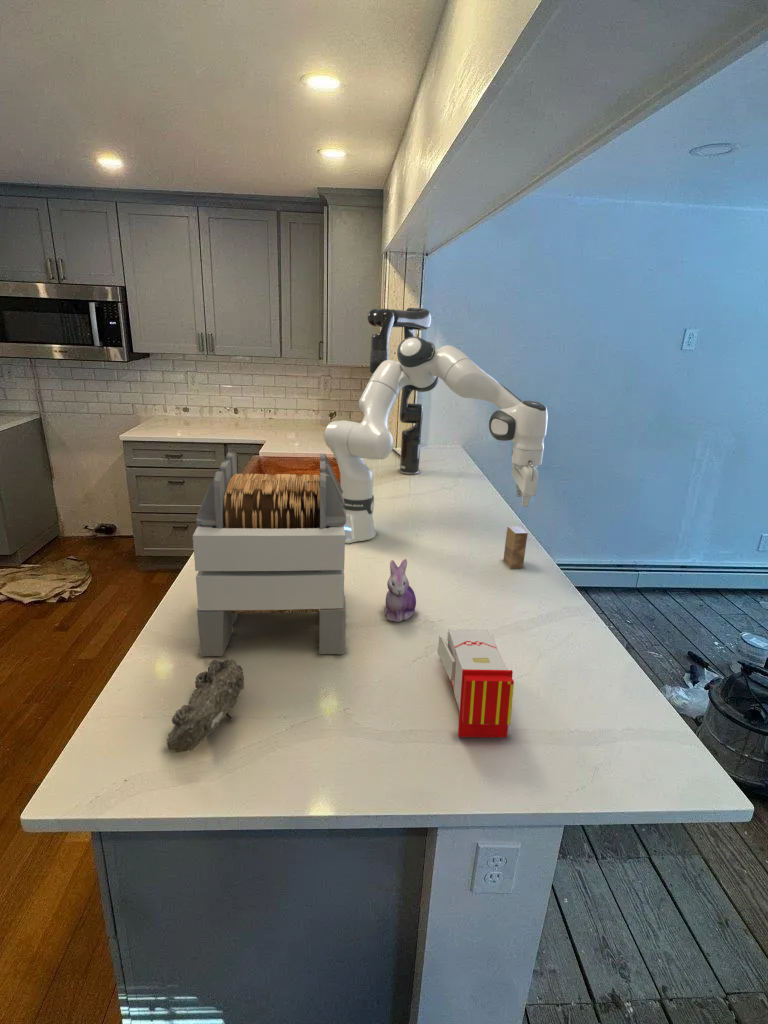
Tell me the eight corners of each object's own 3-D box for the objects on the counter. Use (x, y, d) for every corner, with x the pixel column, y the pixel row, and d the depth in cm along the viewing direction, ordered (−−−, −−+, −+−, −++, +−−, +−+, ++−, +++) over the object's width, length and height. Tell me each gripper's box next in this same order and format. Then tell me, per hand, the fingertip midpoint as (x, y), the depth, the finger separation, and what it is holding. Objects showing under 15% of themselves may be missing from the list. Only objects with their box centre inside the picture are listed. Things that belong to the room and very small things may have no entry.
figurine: (392, 627, 141) (395, 572, 136) (374, 608, 149) (376, 556, 144) (425, 619, 145) (429, 566, 140) (405, 601, 154) (408, 550, 149)
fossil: (192, 660, 117) (244, 628, 112) (224, 691, 120) (276, 661, 115) (142, 746, 98) (202, 712, 93) (182, 779, 101) (242, 748, 96)
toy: (488, 613, 130) (523, 677, 101) (484, 667, 133) (517, 744, 104) (435, 612, 130) (455, 676, 101) (432, 666, 133) (451, 743, 103)
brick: (510, 568, 177) (515, 533, 173) (503, 560, 182) (507, 526, 178) (522, 568, 177) (527, 533, 173) (514, 560, 183) (519, 526, 179)
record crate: (222, 587, 157) (213, 443, 143) (340, 586, 160) (343, 445, 147) (197, 659, 125) (183, 482, 111) (345, 655, 129) (349, 484, 115)
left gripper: (545, 466, 158) (538, 513, 163) (531, 449, 177) (525, 491, 182) (522, 465, 158) (516, 512, 163) (511, 448, 177) (506, 490, 182)
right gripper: (385, 362, 223) (383, 404, 228) (391, 359, 236) (389, 399, 241) (366, 361, 224) (365, 402, 229) (373, 358, 237) (372, 397, 242)
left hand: (521, 501), depth 173 cm, fingers open, 8 cm apart
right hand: (377, 400), depth 235 cm, fingers open, 8 cm apart
